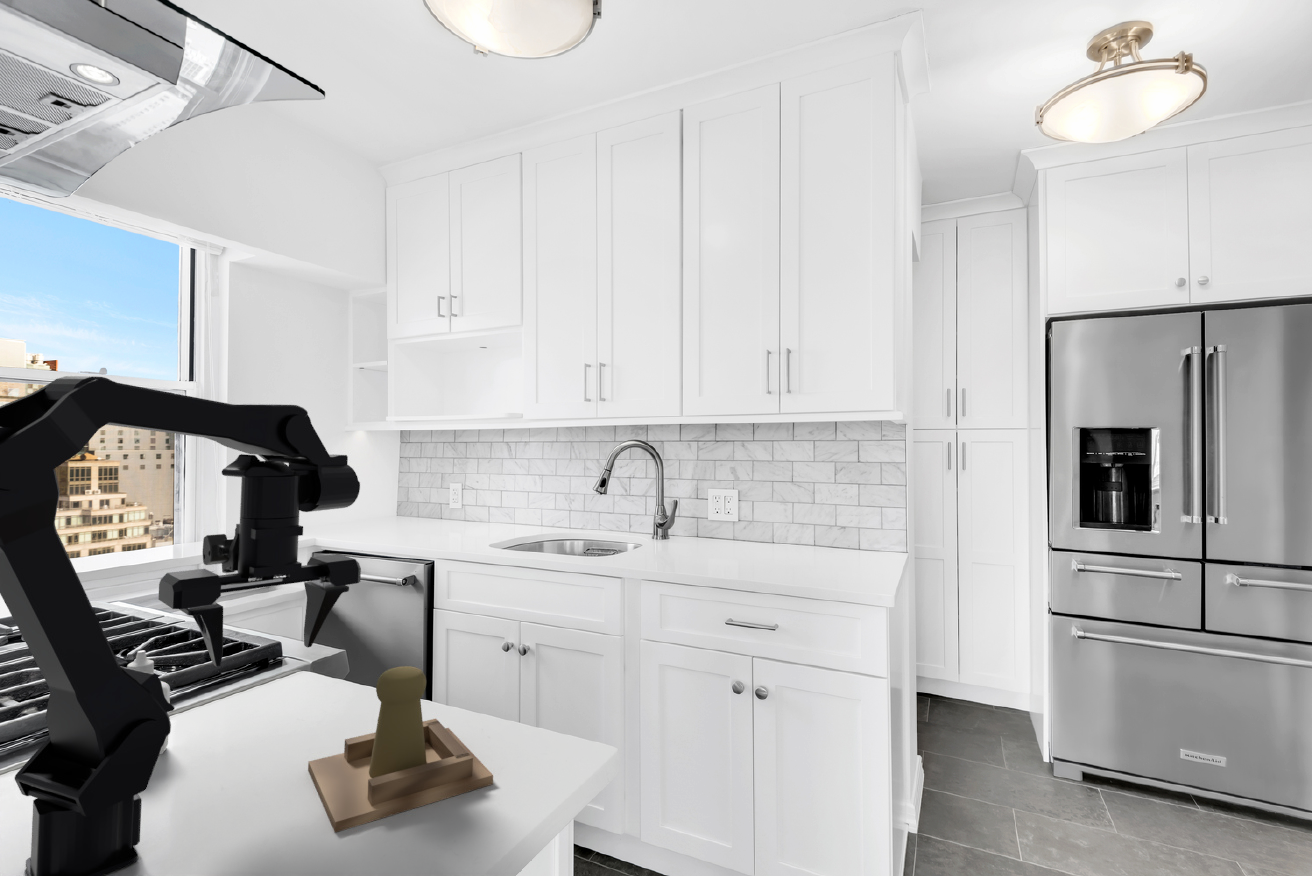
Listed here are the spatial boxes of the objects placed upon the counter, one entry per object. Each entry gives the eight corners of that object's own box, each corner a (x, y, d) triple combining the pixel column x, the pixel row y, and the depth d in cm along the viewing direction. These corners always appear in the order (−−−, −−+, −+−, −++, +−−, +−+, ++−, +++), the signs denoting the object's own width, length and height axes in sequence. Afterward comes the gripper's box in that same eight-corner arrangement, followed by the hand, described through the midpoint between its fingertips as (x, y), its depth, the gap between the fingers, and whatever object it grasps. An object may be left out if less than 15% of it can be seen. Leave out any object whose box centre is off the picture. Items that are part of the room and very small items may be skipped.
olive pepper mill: (378, 788, 68) (383, 684, 68) (361, 765, 73) (365, 667, 73) (435, 771, 72) (439, 672, 72) (415, 750, 77) (419, 657, 77)
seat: (334, 832, 62) (336, 801, 62) (308, 770, 73) (309, 743, 73) (492, 784, 72) (493, 756, 72) (448, 735, 83) (448, 712, 83)
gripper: (324, 505, 85) (319, 624, 85) (147, 514, 71) (141, 657, 71) (365, 513, 78) (360, 643, 78) (178, 525, 64) (171, 685, 63)
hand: (264, 655), depth 73 cm, fingers open, 9 cm apart
